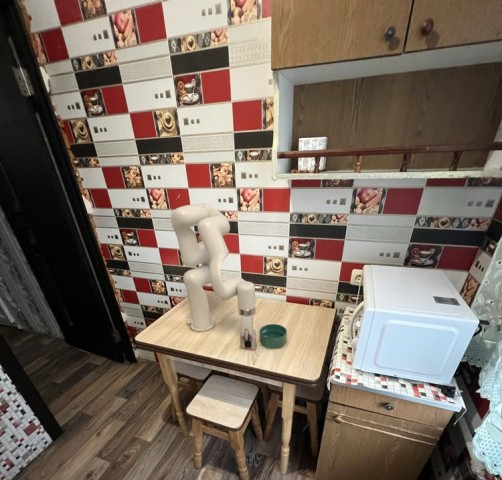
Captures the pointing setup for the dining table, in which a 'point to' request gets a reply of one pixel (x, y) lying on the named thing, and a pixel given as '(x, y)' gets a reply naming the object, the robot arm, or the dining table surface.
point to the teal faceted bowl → (273, 336)
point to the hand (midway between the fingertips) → (248, 343)
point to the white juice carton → (253, 341)
